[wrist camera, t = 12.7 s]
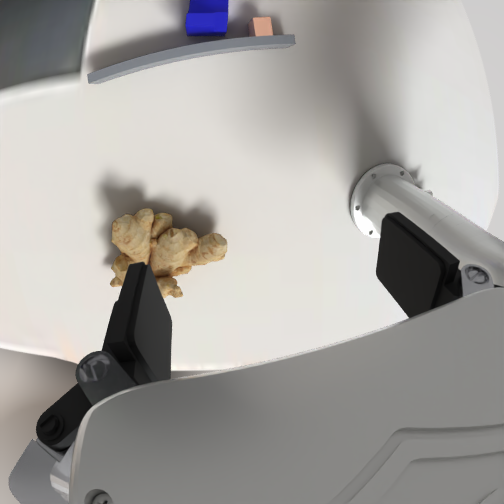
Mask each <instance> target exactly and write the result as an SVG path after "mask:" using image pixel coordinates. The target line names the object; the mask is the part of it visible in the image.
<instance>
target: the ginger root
mask: <svg viewBox="0 0 504 504" xmlns="http://www.w3.org/2000/svg"><path fill="white" fill-rule="evenodd" d="M111 241H112V242H113V243H114V244H115V245H116V246H117V247H118V248H119V249H120V251H121V253H122V254H121V255H120V256H118V257H117V258H116V259H115V261H114V263H113V265H112V268H111V269H112V270H113V271H114V272H115V273H116V274H115V275H116V277H115V278H114V279H112V281H111V283H110V285H111V286H112V287H117V286H122V285H123V282H124V279H125V275H126V272H127V269H128V266H129V264H133V263H138V262H145V264H146V265H147V264H150V266H151V268H152V271H153V273H154V276H155V279H156V281H157V284H158V286H159V289H160V292H161V294H162V297H163V298H165V297H166V296H168V295H172V296H173V297H175V298H176V297H182V296H183V294H182V292H181V289H180V287H178V286H177V281H176V279H174V278H172V277H173V276H178V275H180V274H186V273H188V272H189V271H190V270H191V266H195V265H205V264H207V263H209V262H211V261H219V260H222V259H224V257H225V253H226V252H227V241H226V239H225V238H223V237H222V236H221V235H220V234H217V233H212V234H207V235H205V236H202V237H200V238H198V237H197V235H196V234H195V232H194V231H192V230H190V229H188V228H183V229H177V228H173V226H172V216H171V215H170V214H167V213H158V214H156V215H154V214H153V210H152V209H147V208H144V209H142V210H140V211H138V212H137V213H136V214H135V215H134V216H132V215H130V214H125V215H124V216H123V217H120V218H118V219H116V220H115V221H114V222H113V223H112V240H111Z"/></svg>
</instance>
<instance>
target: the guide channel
mask: <svg viewBox="0 0 504 504" xmlns="http://www.w3.org/2000/svg"><path fill="white" fill-rule="evenodd" d="M248 28H249V34H250V37H242V38H233V39H224V40H217V41H210V42H204V43H198V44H192V45H187V46H182V47H177V48H173V49H168V50H164V51H160V52H156V53H152V54H148V55H144V56H141V57H137V58H134V59H130V60H127V61H124V62H121V63H118V64H115V65H112V66H109V67H106V68H103V69H100V70H98V71H95V72H92V73H90V74H87V76H88V82H89V84H100V83H102V82H105V81H108V80H111V79H114V78H117V77H120V76H123V75H127V74H130V73H133V72H137V71H140V70H144V69H148V68H151V67H155V66H159V65H163V64H168V63H172V62H176V61H181V60H186V59H191V58H196V57H202V56H208V55H214V54H221V53H229V52H237V51H246V50H257V49H271V48H288V47H290V46H292V45H294V44H296V43H295V37H294V35H273V31H272V24H271V18H270V17H256V18H252V20H251V21H250V22H249V24H248Z"/></svg>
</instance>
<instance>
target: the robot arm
mask: <svg viewBox="0 0 504 504" xmlns="http://www.w3.org/2000/svg"><path fill="white" fill-rule="evenodd" d="M351 216H352V219H353V222H354V223H355V225H356V227H357V228H358V229H359V230H360V231H361V232H362V233H364V234H365V235H367V236H369V237H373V238H380V243H379V252H378V260H377V267H376V275H377V278H378V279H379V281H380V282H381V283H382V284H383V285H384V287H385V288H386V289H387V290H388V292H389V293H390V294H391V295H392V297H393V298H394V299H395V300H396V302H397V303H398V304H399V305H400V307H401V308H402V309H403V311H404V312H405V313H406V314H407V316H408V317H409V319H406V320H403V321H401V322H398V323H395V324H392V325H389V326H386V327H384V328H381V329H378V330H375V331H372V332H369V333H366V334H363V335H360V336H356V337H353V338H350V339H347V340H343V341H340V342H337V343H333V344H330V345H326V346H323V347H319V348H316V349H312V350H308V351H304V352H301V353H297V354H293V355H289V356H285V357H281V358H277V359H272V360H268V361H264V362H259V363H255V364H250V365H245V366H240V367H235V368H230V369H225V370H220V371H215V372H209V373H204V374H198V375H192V376H187V377H181V378H174V379H171V378H170V375H171V374H170V373H171V339H172V320H171V316H170V314H169V311H168V309H167V306H166V304H165V302H164V299H163V297H162V294H161V292H160V289H159V286H158V284H157V281H156V279H155V276H154V273H153V271H152V268H151V266H150V264H147V265H146V264H145V262H138V263H133V264H129V266H128V269H127V272H126V275H125V279H124V282H123V285H122V289H121V292H120V295H119V299H118V301H116V302H115V304H114V306H113V310H112V313H111V317H110V321H109V324H108V328H107V332H106V336H105V340H104V344H103V348H102V351H96V352H92V353H90V354H88V355H87V356H85V357H84V358H83V359H82V360H81V361H80V363H79V364H78V366H77V369H76V379H77V381H78V383H77V384H76V385H75V386H74V387H73V388H72V389H70V390H69V391H68V392H67V393H66V394H65V395H63V396H62V397H61V398H60V399H59V400H58V401H57V402H55V403H54V404H53V405H52V406H51V407H50V408H48V409H47V410H46V411H45V412H44V413H43V414H42V415H41V416H40V418H39V420H38V422H37V426H36V433H37V436H38V438H37V439H36V441H35V440H33V439H32V440H31V442H30V443H29V445H28V446H27V448H26V449H25V451H24V452H23V454H22V456H21V457H20V459H19V460H18V462H17V464H16V466H15V467H14V469H13V470H12V472H11V474H10V476H9V488H10V490H11V492H12V494H13V495H14V497H16V499H17V500H18V501H19V502H20V503H21V504H504V242H503V241H502V240H500V239H498V238H497V237H495V236H493V235H491V234H490V233H488V232H487V231H485V230H484V229H482V228H481V227H479V226H478V225H476V224H475V223H473V222H472V221H470V220H469V219H467V218H466V217H464V216H463V215H461V214H460V213H458V212H457V211H455V210H454V209H452V208H451V207H449V206H448V205H446V204H445V203H443V202H441V201H440V200H438V199H437V198H435V197H433V195H432V192H431V191H430V190H427V191H423V190H422V189H420V188H418V187H416V186H415V184H414V181H413V179H412V177H411V176H410V174H409V173H408V172H407V171H406V170H405V169H403V168H401V167H400V166H397V165H395V164H389V163H388V164H381V165H378V166H375V167H374V168H372V169H370V170H369V171H368V172H366V173H365V174H364V175H363V177H362V178H361V179H360V180H359V182H358V183H357V185H356V187H355V189H354V192H353V194H352V199H351Z"/></svg>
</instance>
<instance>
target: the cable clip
mask: <svg viewBox="0 0 504 504" xmlns="http://www.w3.org/2000/svg"><path fill="white" fill-rule="evenodd" d="M227 21H228V0H190V5H189V11H188V13H187V15H186V31H187V36H225V34H226V32H227Z"/></svg>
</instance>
